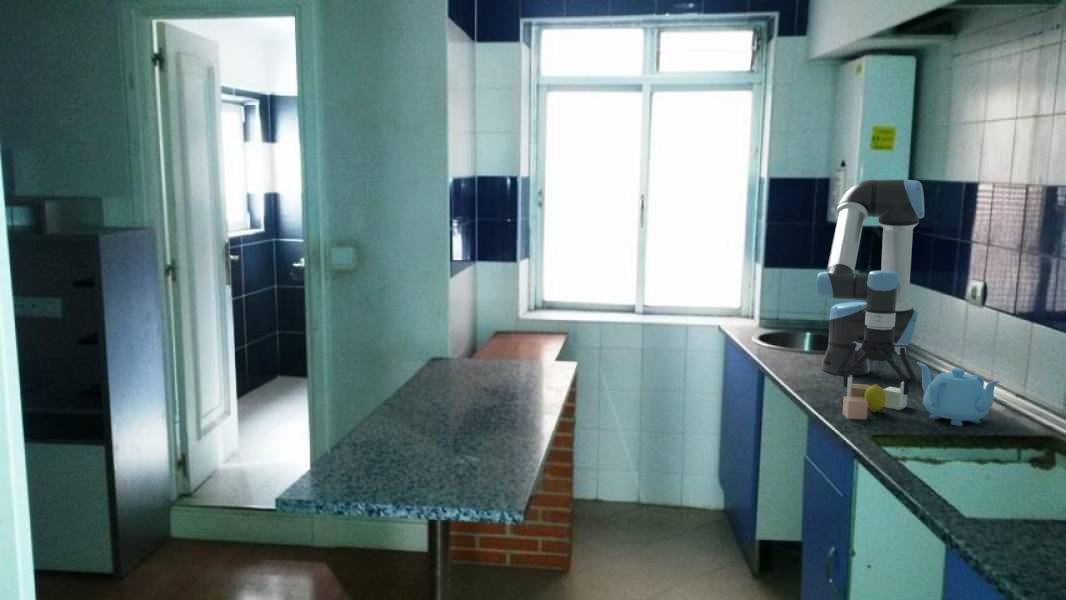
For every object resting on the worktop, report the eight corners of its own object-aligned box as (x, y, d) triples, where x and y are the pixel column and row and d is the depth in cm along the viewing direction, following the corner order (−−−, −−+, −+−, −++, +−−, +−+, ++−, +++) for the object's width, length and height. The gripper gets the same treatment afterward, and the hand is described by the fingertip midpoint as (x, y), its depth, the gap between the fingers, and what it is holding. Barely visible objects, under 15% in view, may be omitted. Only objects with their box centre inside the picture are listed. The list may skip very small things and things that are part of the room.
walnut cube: (850, 400, 235) (851, 383, 234) (868, 401, 233) (870, 385, 232) (850, 404, 230) (851, 387, 229) (869, 406, 228) (870, 389, 227)
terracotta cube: (842, 413, 221) (843, 396, 220) (861, 414, 220) (862, 396, 220) (847, 419, 216) (848, 401, 215) (866, 419, 215) (867, 401, 215)
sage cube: (888, 403, 231) (889, 386, 230) (906, 406, 228) (907, 389, 227) (881, 406, 228) (882, 389, 227) (899, 410, 224) (900, 393, 223)
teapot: (995, 433, 204) (1000, 379, 202) (911, 422, 212) (915, 371, 210) (992, 416, 218) (996, 366, 216) (913, 407, 227) (917, 359, 225)
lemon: (886, 415, 219) (888, 387, 218) (865, 414, 220) (867, 386, 219) (882, 409, 224) (884, 382, 223) (861, 408, 225) (863, 381, 224)
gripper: (829, 325, 222) (825, 398, 225) (928, 333, 209) (922, 412, 212) (834, 321, 228) (830, 393, 231) (931, 329, 215) (925, 405, 218)
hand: (874, 402), depth 221 cm, fingers open, 13 cm apart
